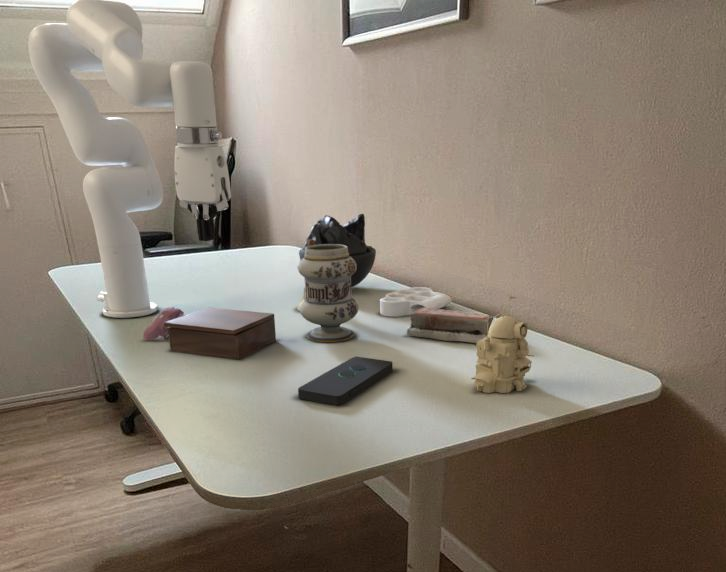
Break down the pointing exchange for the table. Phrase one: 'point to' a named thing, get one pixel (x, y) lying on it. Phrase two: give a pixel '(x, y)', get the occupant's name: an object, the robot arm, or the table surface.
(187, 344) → the box
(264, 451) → the table surface
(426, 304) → the white lobed tray
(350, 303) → the apothecary jar
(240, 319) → the box lid
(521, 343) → the robot
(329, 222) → the bowl of black rocks
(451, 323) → the packaged product
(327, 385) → the smart home device
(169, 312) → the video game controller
